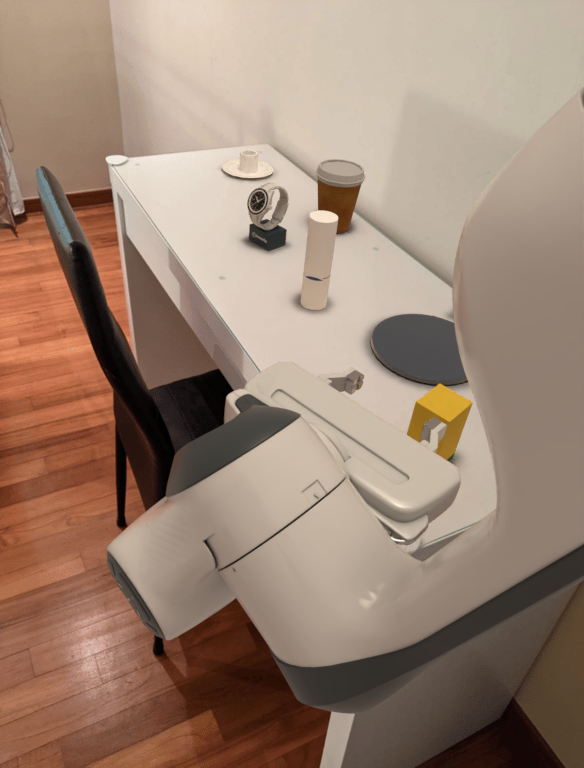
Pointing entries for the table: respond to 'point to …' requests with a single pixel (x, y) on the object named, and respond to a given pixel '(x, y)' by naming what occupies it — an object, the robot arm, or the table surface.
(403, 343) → the plate
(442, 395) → the sponge
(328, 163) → the disposable coffee cup
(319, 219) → the tube
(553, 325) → the robot arm
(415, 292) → the table surface
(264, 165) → the candle holder
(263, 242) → the watch
